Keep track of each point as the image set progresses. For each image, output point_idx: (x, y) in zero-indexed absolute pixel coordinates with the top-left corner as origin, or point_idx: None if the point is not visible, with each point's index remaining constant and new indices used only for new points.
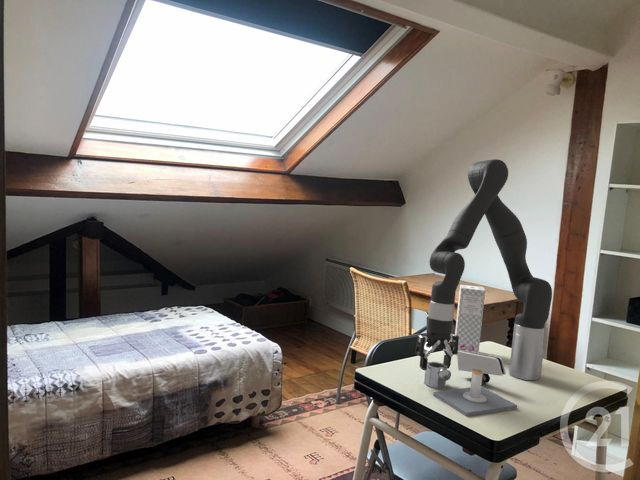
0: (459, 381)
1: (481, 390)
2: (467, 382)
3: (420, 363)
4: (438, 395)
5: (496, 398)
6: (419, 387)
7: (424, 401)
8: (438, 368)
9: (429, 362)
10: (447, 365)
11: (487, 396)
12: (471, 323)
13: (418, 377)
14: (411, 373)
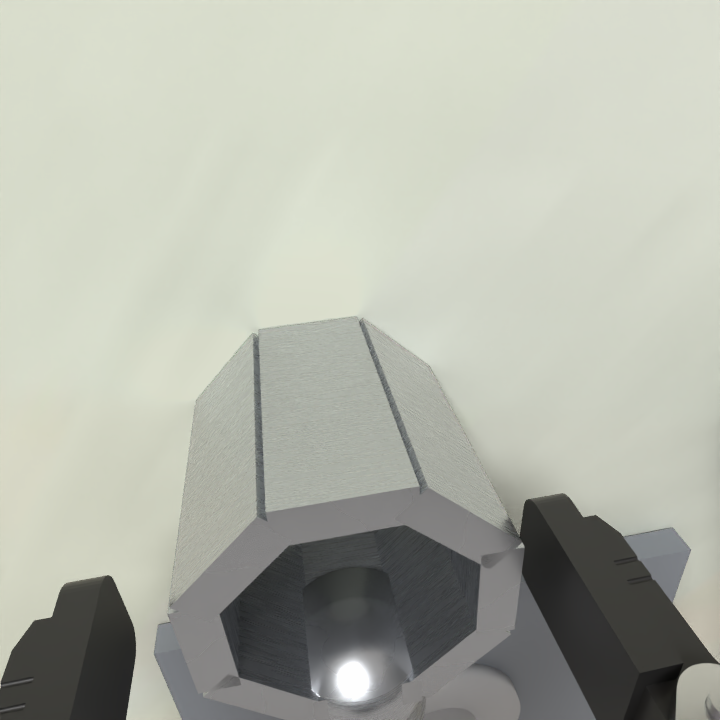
0: (653, 368)
1: None
2: (706, 395)
3: (4, 708)
4: (172, 689)
5: (586, 702)
6: (88, 487)
7: None
8: (299, 714)
9: (301, 529)
10: (539, 601)
11: (554, 685)
12: None
13: (219, 202)
14: (172, 4)
